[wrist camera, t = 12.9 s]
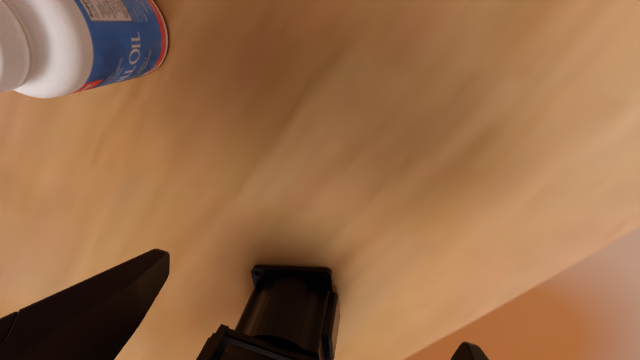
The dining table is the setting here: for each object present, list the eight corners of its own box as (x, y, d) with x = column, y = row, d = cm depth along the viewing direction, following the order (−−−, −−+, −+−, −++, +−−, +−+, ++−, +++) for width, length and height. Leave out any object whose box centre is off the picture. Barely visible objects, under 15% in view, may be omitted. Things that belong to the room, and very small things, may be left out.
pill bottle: (141, 93, 22) (-13, 143, 13) (73, 26, 21) (-145, 34, 12) (189, 33, 20) (40, 47, 11) (116, -46, 18) (-115, -99, 10)
